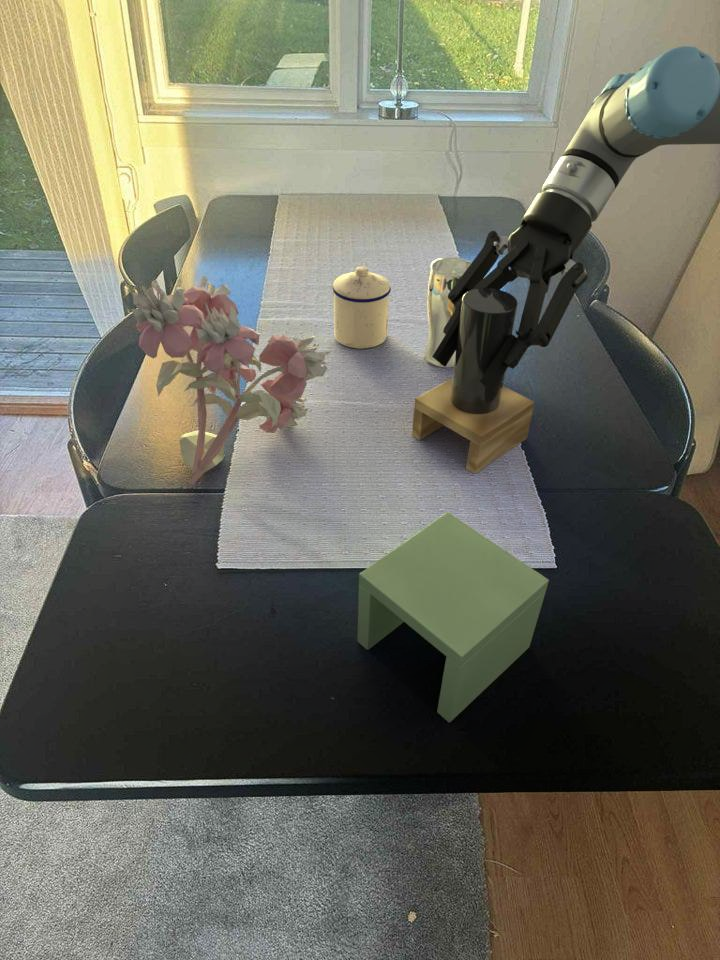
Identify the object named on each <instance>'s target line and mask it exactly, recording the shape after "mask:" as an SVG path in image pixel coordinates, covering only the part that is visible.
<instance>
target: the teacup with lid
mask: <svg viewBox="0 0 720 960" xmlns="http://www.w3.org/2000/svg"><path fill="white" fill-rule="evenodd" d="M391 290H392V287H391V284H390V282H389V281H388V280H387V279H386V278H385V277H384V276H382V275H380V274H378V273H374V272H370V271H369V269H368V267H366V266H363V265H361V266H357V267H356V268H355V271H352V272H348V273H344V274H341V275H340V276H338V277H336V279H335V280H334V281H333V284H332V297H333V324H334V325H333V331H334V332H333V334H334V338H335V339H336V341H337V342H338V343H339V344H341V345H343V346H344V347H348V348H353V349H359V350H360V349H370V348H371V349H372V348H374V347H378V346H380V345H381V344H383V343H384V342H385V341H386V339H387V336H388V323H389V321H388V320H389V302H390V301H389V300H390V294H391V292H392V291H391Z"/></svg>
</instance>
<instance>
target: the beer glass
mask: <svg viewBox="0 0 720 960" xmlns="http://www.w3.org/2000/svg"><path fill="white" fill-rule="evenodd" d="M472 262H473V261H471V260H469V259H466V258H462V257H457V256H456V257H454V256H446V257H440V258H437V259H435V260H433V261H432V262H431V264H430V271H429V277H428V283H427V291H426V312H427V322H428V340H427V344H426V348H425V351H424V359H425V360H426V362H427V363H428V364H430V365H433V366H435V367H438V368H454V362H455V354H456V351H455V352H454V354H453V355H452V357H451V359H450V360H449V362H448V363H447V365H446V367H445V366H443V365H441V364H440V363H439V362H438V361H437V360H435V359H434V358H433V357H432V356H433V354H434V353H435V351H436V350H437V348H438V346H439V345H440V343H441V341H442V340H443V338H444V337H445V334H444V333H443V330H444V327H445V326H446V324H447V322H448V321H449V319H450V317H451V316H452V314H453V313H454V311H455V306H454V304H453V303H452V302H451V301H450V300H449V299H448V294H449V292H450V291H451V290H452V288H453V287H454V286H455V284H456V283H457V282H458V280H459V279H460V278H461V276H462V275H463V274H464V272H465V271H466V270H467V268H468V267H469V266H470V264H471V263H472Z"/></svg>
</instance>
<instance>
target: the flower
mask: <svg viewBox="0 0 720 960" xmlns="http://www.w3.org/2000/svg"><path fill="white" fill-rule="evenodd" d="M208 280H209V277H208V276H203V275H202V276H201V277H200V283H199V286H192V287H189V288H188V289H185V288H184V289H183V288H182V287H180V286H177V288H176V290H175V292H174V293H173V294H168V295H167V294H166V293H165V291H164V290H162V288H161V286H160V284H159V282H158V280H157V278H155V279H154V280H152V281H151V285H149V287H148V288H146V286H143V285H141V286H140V288H141V290H142V292H143V294H144V295H142V294H140V293H139V292H137V291H135V292H133V293H132V300H133V305H134V306H136V308H131V312H132V314H133V316H134V318H135V320H136V321H137V323H136V325H135V329H136V330H137V332H140V335H139V336H138V337H139V338H138V347H139V348H140V349H141V350H142V351H143V352H144V353H145V355H146V356H148V357H149V358H151V359H155V358H157V356H158V353H159V352H158V351H159V348H160V345H161V346H162V348H163V351H164V354H167V356H168V357H170V358H172V359H175V358H185V357H186V359H187V361H184V362H180V361H177V360H168V361H164V362H162V363H161V366H160V368H159V372H158V375H157V379H156V385H155V387H156V391H157V396H158V398H159V397H160V396H161V394H162V391H163V389H164V388H165V387H167V386H169V385H170V384H171V383H172V382H173V380H174V379H175V378H176V377H177V376H178V375H179V373H181V374H182V375H185V376H187V377H191V378H195V380H193V381H192V382H189V384H188V385H187V387H186V388H185V390H184V391H183V393H185V392H186V391H188V390H189V389H194V390H195V389H196V395H197V396H196V398H195V400H194V402H193V403H192V405H191V407H193V406H195V405H196V404H197V425H198V426H197V428H198V429H196V430H194V431H189V432H185V433H184V434H183V435H181V436H179V448H180V449H179V450H180V455H181V457H182V460H183V462H184V465H185V466H186V467H187V468H188V469H189V470H190V471H192V474H191V475H192V477H191V478H190V480H189V481H188V484H189V485H190V486H192V487H193V486H194V484H195V483H196V482H197V481H198V480H199V478H201V476H202V475H204V474H205V473H206V472H208V471H210V470H211V469H213V468H215V467H216V466H218V465H219V464H220V463H221V462H222V461H223V460H224V459H225V443H226V441H227V440H228V438H229V437H230V435H231V433H232V432H233V430H234V428H235V427H236V425H237V423H238V422H239V421H240V420H243V421H244V420H245V421H249V420H252V419H254V418H257V417H265V418H266V420H265V421H264V422H263V423H262V424H259V425H258V428H259V429H260V430H262V431H263V432H265V433H268V434H274V433H275V432H276V431H277V430H278V429H279V430H282V429H283V428H285V427H289V428H290V427H298V426H299V424H298V423H297V421H299V419H301V418H303V417H306V416H307V413H308V410H309V408H306V405H305V402H306V401H307V397H303V394H304V393H305V392H304V391H305V389H306V387H307V385H308V383H307V381H309V380H312V379H314V378H317V377H323V376H324V375H325V373H326V372H327V370H328V366H327V362H325V358H326V356H327V355H329V354H330V353H331V352H332V350H331V351H319V352H318V351H316V350H317V349H319V347H320V344H319V343H317V344H316V343H314V344H313V345H312V347H309V345H310V344H311V343H313V340H314V339H315V335H313V336H310V337H307V338H304V339H301V338H294V337H293V338H292V339H290V338H289V337H287V336H286V335H284V334H278V335H277V334H276V335H272V336H271V337H270V338H269V339H268V341H267V343H268V344H267V345H266V346H265V347H264V349H263V350H262V351H261V353H259V355H258V358H257V356H255V355H254V354H255V351H256V348H255V346H253V344H254V345H257V346H259V342H260V335H259V333H258V332H257V331H255V330H254V329H253V328H251V327H249V326H245V325H240V320H239V319H238V315H239V313H240V312H239V310H238V306H237V304H236V303H235V302H234V301H233V300H232V299H231V298H229V297H228V296H230V295H231V291H230V289H229V287H228V285H227V284H226V283H223V284H222V285H221V286H220V287H217V288H215V287H216V286H215V285H213V283H212V282H210V283H208ZM206 288H207V289H206ZM154 290H155V291H156V293H155V291H154ZM156 294H157V295H156ZM186 327H190V328H192V329H191V332H190V335H189V333H188V332H187V331H186V329H184V328H186ZM248 340H249V341H251V342H252V343H253V344H252V343H250V342H249V341H248ZM191 350H192V351H195V352H197V353H196V362H194V360H193V357H192V356H191V353H190V352H191ZM202 363H203V364H202ZM241 364H242V365H241ZM262 364H265V365H268V366H271V367H273V368H272V369H268V370H267V371H265V372H264V373H263V374H261V375H260V376H259V377H258V378H256V377H257V374H256V373H257V372H256V369H253V368H251V367H247V366H248V365H252V366H255V367H256V368H257V370H258V371H259V373H261V372H262ZM202 365H203V367H202ZM322 365H323V366H322ZM208 371H210V372H211V373H209V374H207V375H204V374H205V373H206V372H208ZM277 372H279V373H280V374H278V375H276V376H275V377H274V379H265V378H267V377H269V376H271V375H273V374H275V373H277ZM241 378H242V379H243V380H244V381H245V383H247V384H248V383H251V384H250V385H249V386H248V387H247V388H246V389H245V390H244V391H243V392H242V393H241V392H240V391H241ZM263 379H265V380H264V381H262V380H263ZM261 381H262V383H260V382H261ZM259 383H260V386H261V387H262V388H263V390H262V389H258V390H254V388H255V387H256V386H257V385H258V384H259ZM206 388H207V389H208V392H210V393H205V389H206ZM216 390H218V391H220V392H221V393H222V394H223V395H224V396H225V397H226V398H227V399H229V400H230V401H229V400H226V399H224V398H223V397H221V396H219V395H217V394H216ZM252 390H253V391H252ZM240 393H241V394H240ZM231 401H232V402H233V405H232V402H231ZM242 403H244V404H242ZM241 404H242V405H241ZM207 405H218V406H219V407H220V409H221V410H222V411H223V412H224V414H225V416H227V417H226V418H225V419H224V422H223V424H222V426H221V428H220V429H219V431H218V433H217V434H215V433H212V432H208V431H206V428H207V415H208V414H207ZM296 420H297V421H296Z"/></svg>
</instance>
